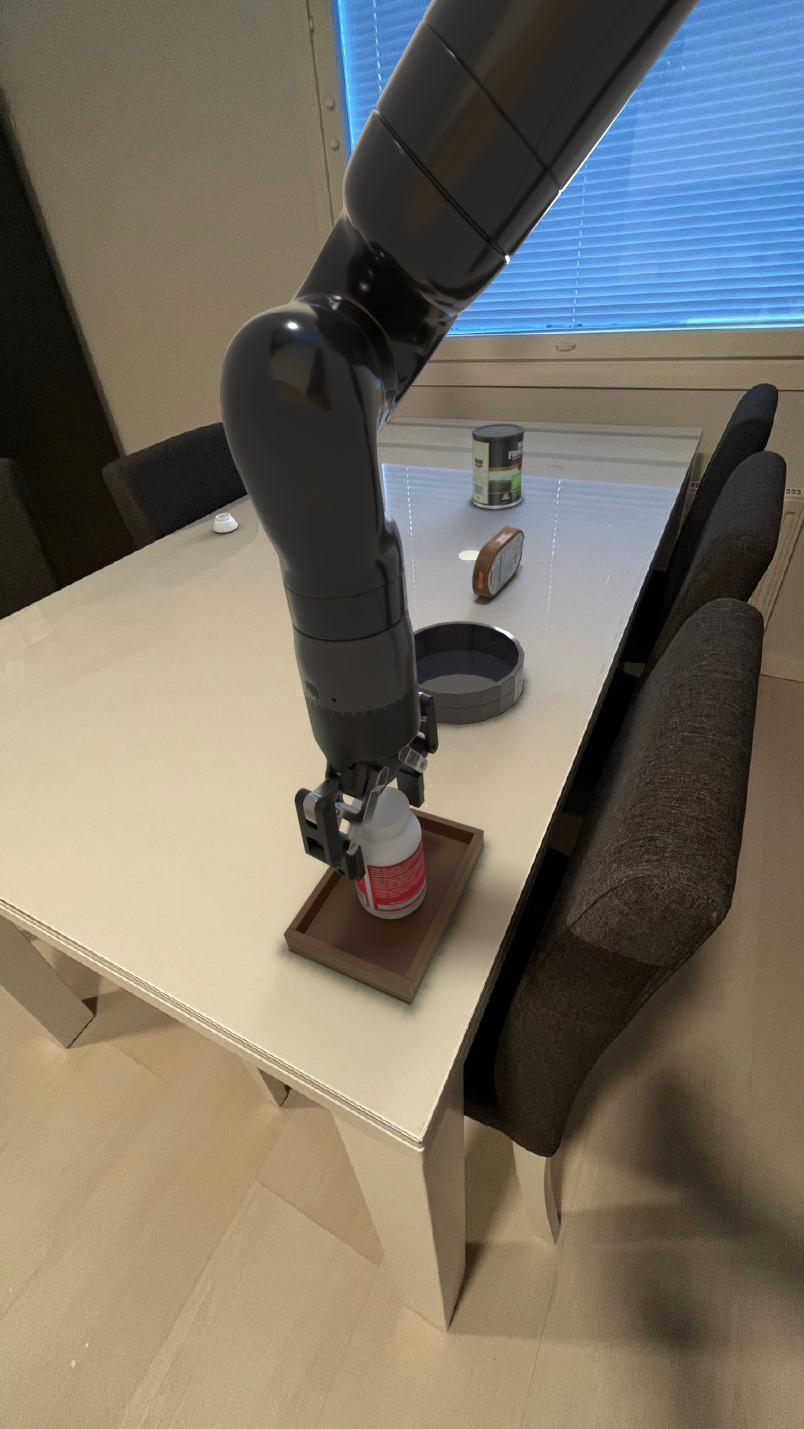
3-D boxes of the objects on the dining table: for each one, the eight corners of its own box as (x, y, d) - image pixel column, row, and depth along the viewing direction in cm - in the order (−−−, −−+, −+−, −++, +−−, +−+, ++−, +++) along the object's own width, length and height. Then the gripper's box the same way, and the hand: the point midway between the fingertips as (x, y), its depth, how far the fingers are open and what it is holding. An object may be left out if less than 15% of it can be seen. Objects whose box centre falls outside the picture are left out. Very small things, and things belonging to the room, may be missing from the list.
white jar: (242, 525, 129) (221, 524, 130) (238, 511, 127) (218, 511, 128) (231, 534, 125) (210, 533, 126) (227, 520, 123) (206, 520, 125)
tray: (410, 1003, 46) (408, 988, 45) (288, 948, 51) (283, 933, 49) (483, 845, 57) (484, 830, 56) (378, 812, 62) (376, 796, 60)
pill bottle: (439, 880, 54) (433, 795, 47) (403, 934, 50) (390, 849, 43) (383, 853, 57) (369, 769, 50) (344, 902, 53) (324, 818, 46)
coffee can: (528, 495, 129) (532, 424, 120) (509, 512, 123) (511, 438, 114) (485, 490, 134) (485, 421, 125) (463, 506, 127) (462, 435, 118)
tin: (508, 565, 104) (510, 517, 98) (525, 568, 102) (528, 519, 97) (470, 604, 94) (469, 553, 89) (488, 608, 93) (489, 556, 87)
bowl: (549, 680, 77) (551, 651, 74) (459, 742, 69) (458, 712, 66) (456, 636, 87) (456, 608, 84) (369, 686, 79) (365, 657, 76)
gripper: (336, 757, 33) (370, 924, 43) (463, 633, 42) (466, 796, 52) (239, 717, 36) (291, 880, 46) (375, 610, 45) (394, 767, 55)
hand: (384, 835), depth 49 cm, fingers open, 8 cm apart
